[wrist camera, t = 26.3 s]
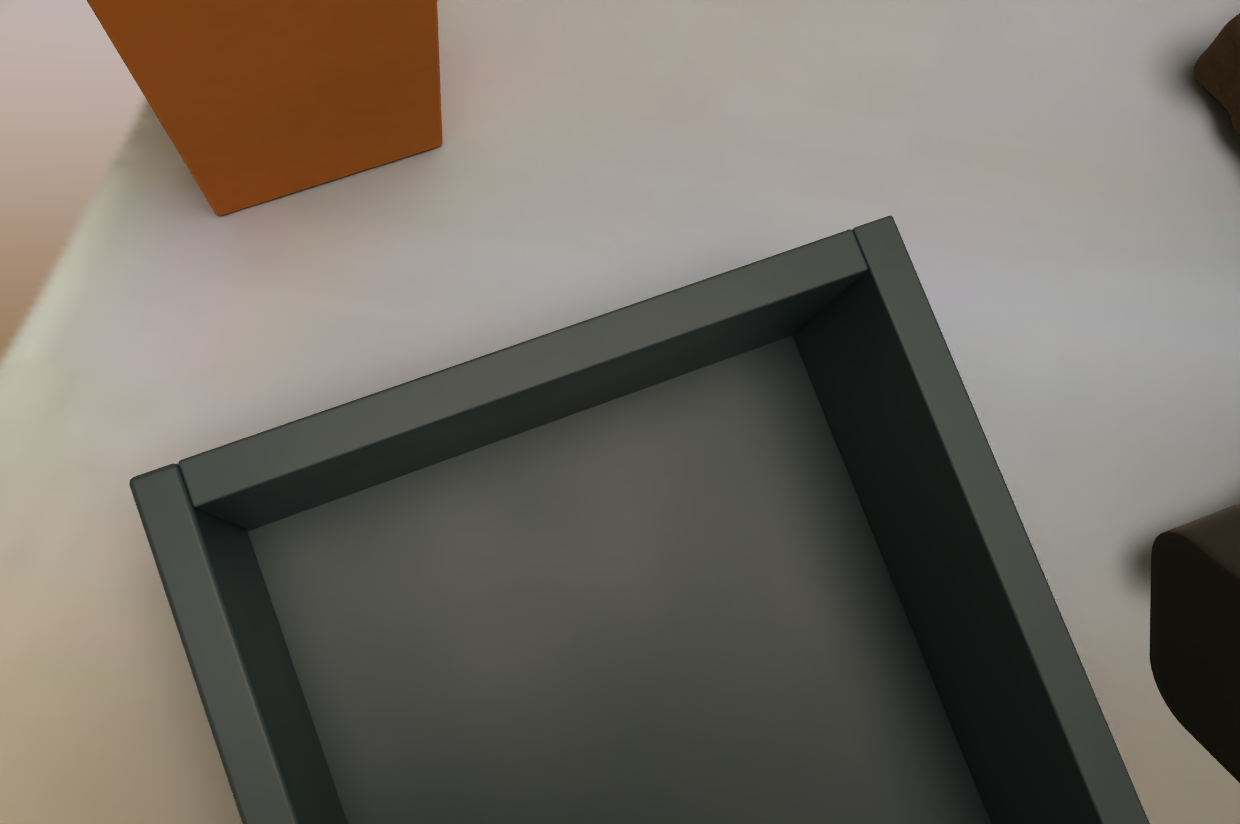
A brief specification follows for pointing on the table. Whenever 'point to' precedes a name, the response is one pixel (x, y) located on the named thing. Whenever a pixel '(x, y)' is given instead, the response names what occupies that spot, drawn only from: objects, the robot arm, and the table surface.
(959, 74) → the table surface
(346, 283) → the table surface
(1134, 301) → the table surface
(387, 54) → the toy block
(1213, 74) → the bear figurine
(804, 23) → the table surface
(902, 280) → the crate
